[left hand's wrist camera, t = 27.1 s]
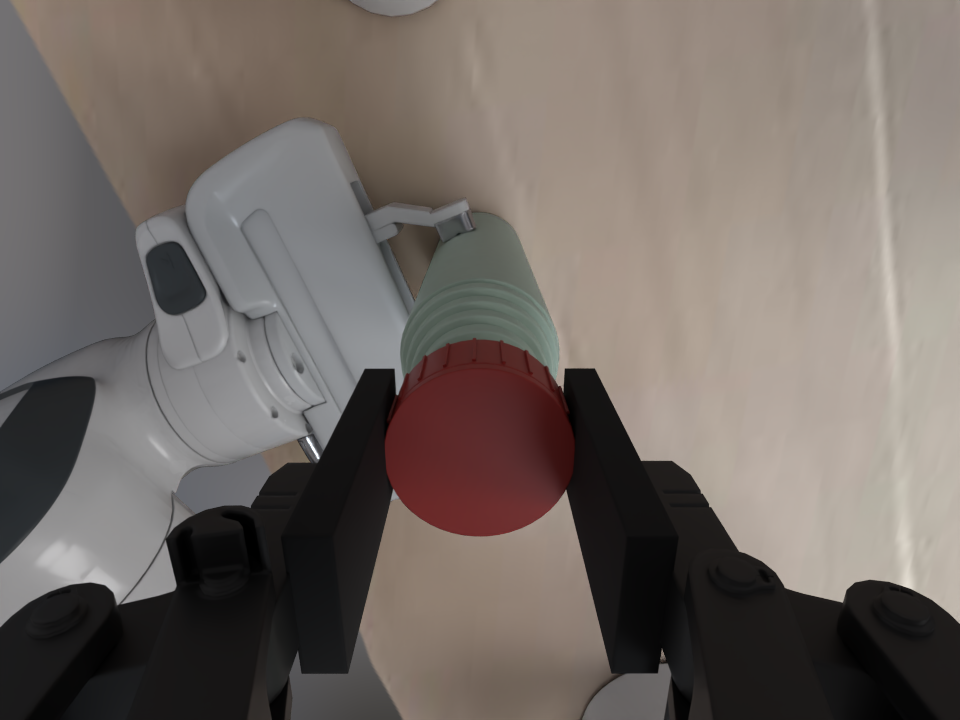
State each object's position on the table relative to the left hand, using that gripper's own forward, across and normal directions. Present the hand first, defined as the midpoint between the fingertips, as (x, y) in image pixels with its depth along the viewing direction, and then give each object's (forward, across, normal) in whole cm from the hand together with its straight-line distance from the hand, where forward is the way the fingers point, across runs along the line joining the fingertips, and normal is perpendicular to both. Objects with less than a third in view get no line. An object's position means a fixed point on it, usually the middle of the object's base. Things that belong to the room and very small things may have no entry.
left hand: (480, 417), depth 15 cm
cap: (-2, 0, 0) cm, 2 cm away
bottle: (+22, 0, 0) cm, 22 cm away
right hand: (+15, -1, 0) cm, 15 cm away
